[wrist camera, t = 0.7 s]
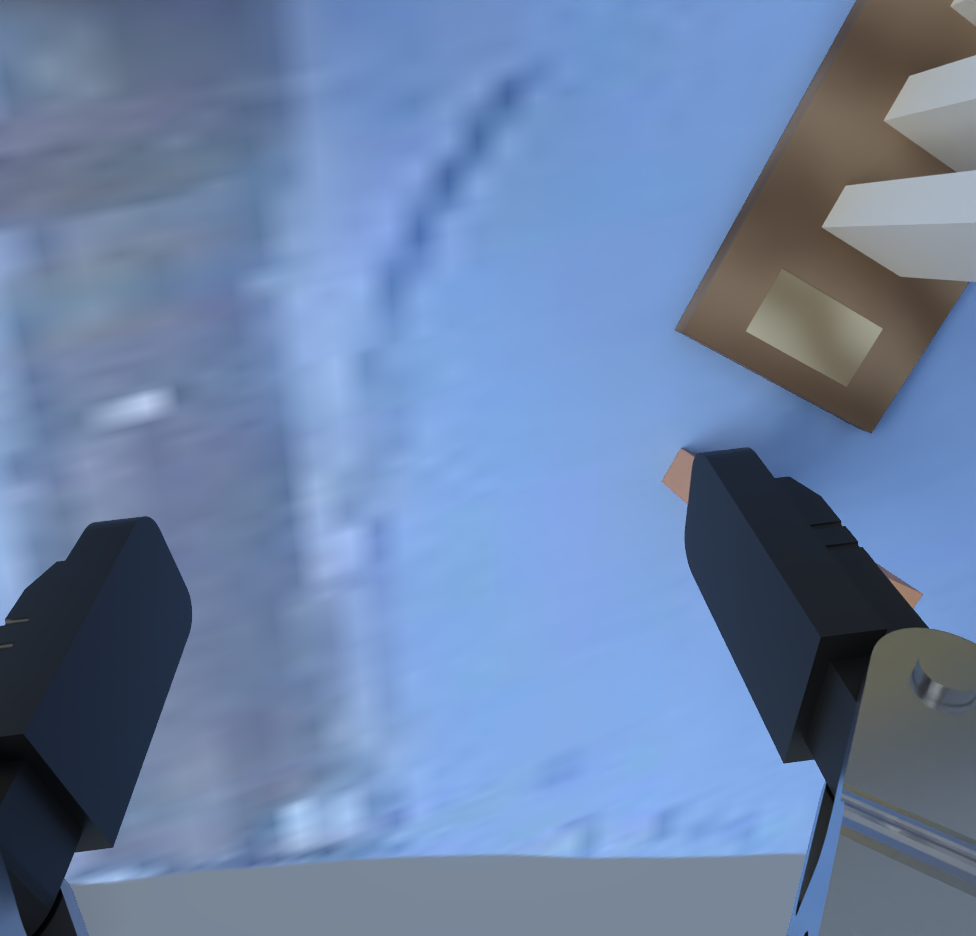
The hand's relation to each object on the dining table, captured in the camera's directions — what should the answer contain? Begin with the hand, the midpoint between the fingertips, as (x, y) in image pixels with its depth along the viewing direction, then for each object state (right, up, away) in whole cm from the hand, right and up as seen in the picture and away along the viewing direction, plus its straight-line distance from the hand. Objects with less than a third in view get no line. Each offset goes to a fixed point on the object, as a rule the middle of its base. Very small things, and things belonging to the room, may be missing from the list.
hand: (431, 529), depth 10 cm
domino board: (+21, +17, +21) cm, 34 cm away
